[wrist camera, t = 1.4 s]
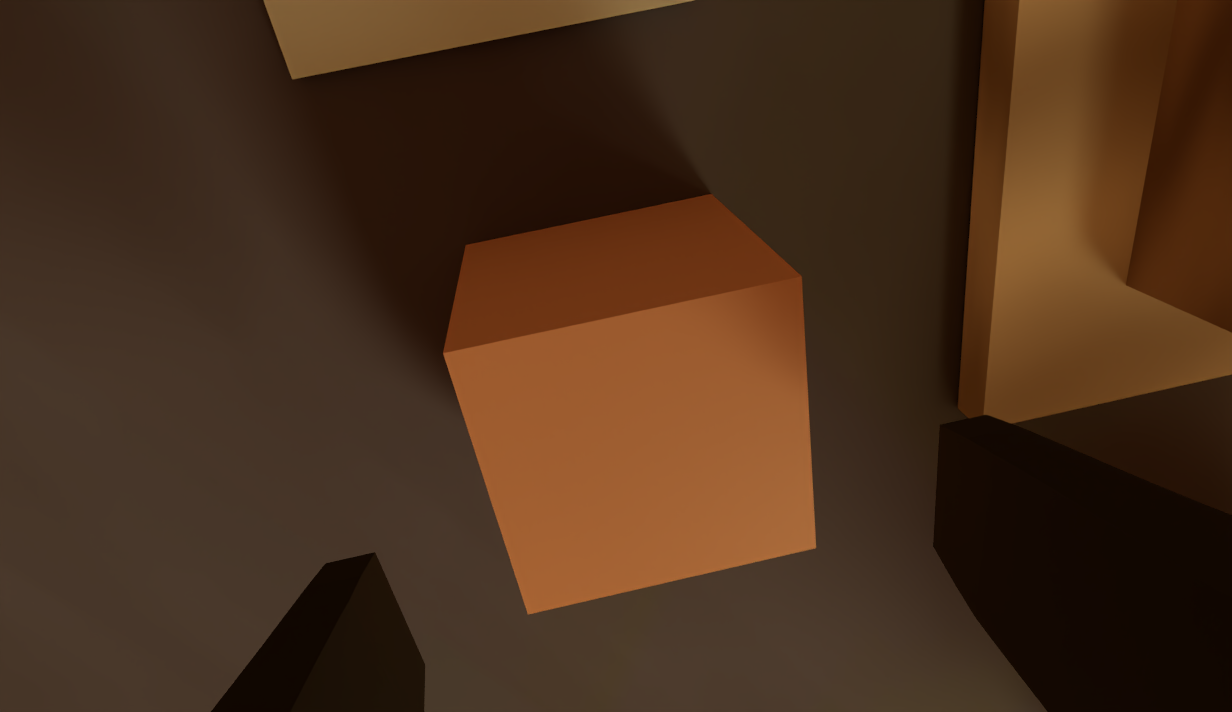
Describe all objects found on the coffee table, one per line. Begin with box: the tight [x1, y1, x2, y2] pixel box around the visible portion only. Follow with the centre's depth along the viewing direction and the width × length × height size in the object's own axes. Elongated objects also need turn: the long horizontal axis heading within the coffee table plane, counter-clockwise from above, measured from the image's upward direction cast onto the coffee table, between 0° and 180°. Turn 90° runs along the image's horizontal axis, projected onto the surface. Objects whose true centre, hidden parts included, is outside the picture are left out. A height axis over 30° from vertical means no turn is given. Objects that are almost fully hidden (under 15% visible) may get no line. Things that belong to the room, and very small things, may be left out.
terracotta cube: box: [443, 194, 816, 614], centre depth 13 cm, size 5×5×5 cm
